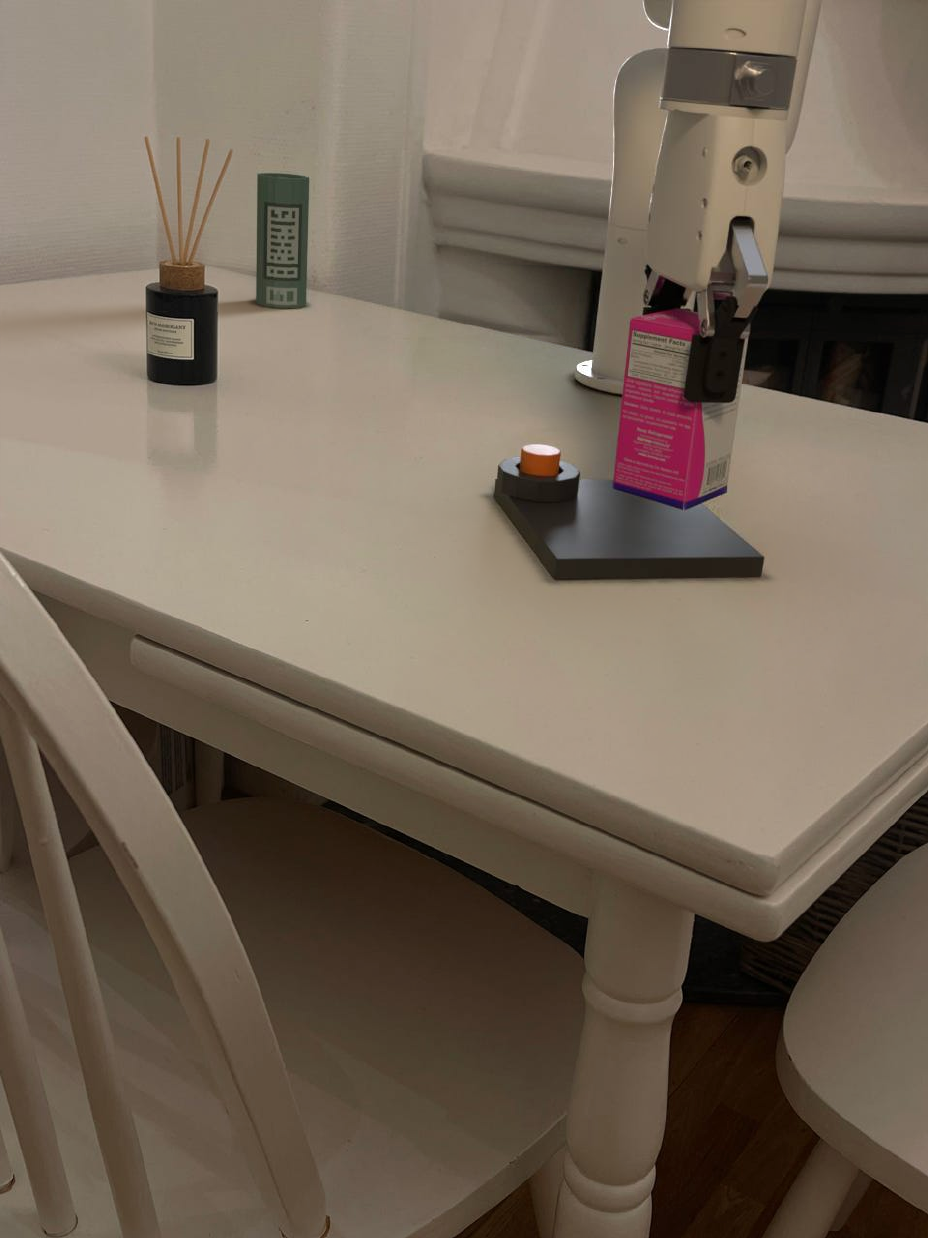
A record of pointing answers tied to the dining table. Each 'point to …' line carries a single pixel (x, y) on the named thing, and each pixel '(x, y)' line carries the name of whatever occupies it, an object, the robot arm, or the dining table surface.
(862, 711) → the dining table surface
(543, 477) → the scale
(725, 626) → the dining table surface
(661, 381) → the supplement box
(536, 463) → the tare button
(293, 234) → the can
